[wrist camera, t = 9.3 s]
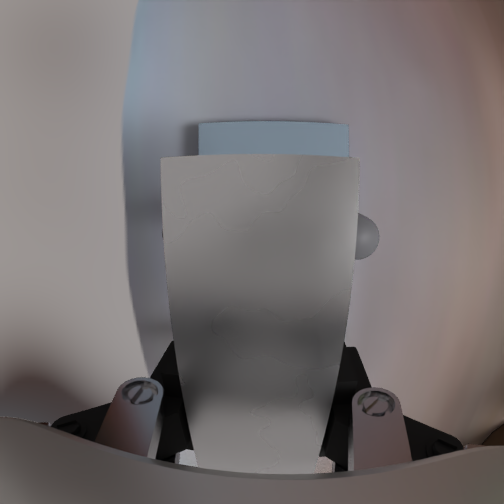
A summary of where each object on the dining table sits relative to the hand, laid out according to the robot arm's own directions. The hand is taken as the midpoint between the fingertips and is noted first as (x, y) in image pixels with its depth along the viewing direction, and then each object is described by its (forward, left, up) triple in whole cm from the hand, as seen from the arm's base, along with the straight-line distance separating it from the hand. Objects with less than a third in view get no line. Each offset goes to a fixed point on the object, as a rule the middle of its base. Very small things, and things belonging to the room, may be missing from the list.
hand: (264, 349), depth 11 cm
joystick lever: (+1, +2, 0) cm, 2 cm away
